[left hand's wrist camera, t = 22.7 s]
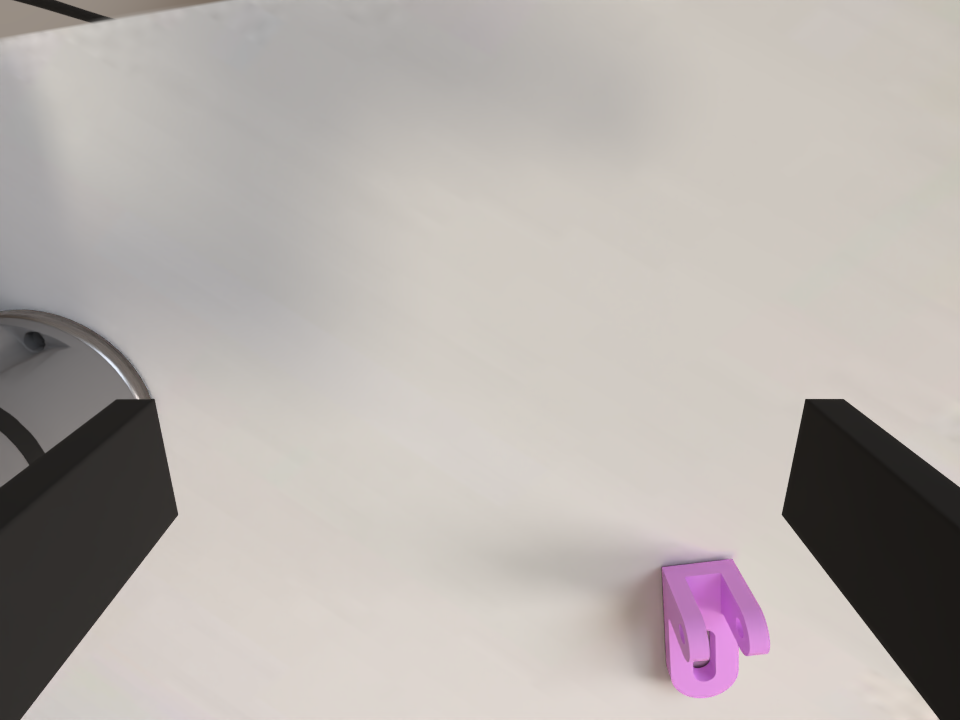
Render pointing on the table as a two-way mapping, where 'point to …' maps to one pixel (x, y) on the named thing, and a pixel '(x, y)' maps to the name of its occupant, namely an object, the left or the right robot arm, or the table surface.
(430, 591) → the table surface
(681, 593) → the bracket
